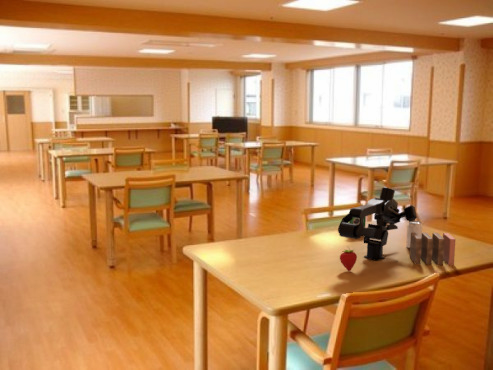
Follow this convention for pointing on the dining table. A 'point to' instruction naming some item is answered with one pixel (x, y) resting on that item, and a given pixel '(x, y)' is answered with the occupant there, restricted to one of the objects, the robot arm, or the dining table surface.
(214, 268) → the dining table surface
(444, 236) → the tile
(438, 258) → the tile
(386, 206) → the robot arm
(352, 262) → the strawberry
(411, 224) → the can
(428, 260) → the tile
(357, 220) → the coffee box
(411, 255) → the tile
